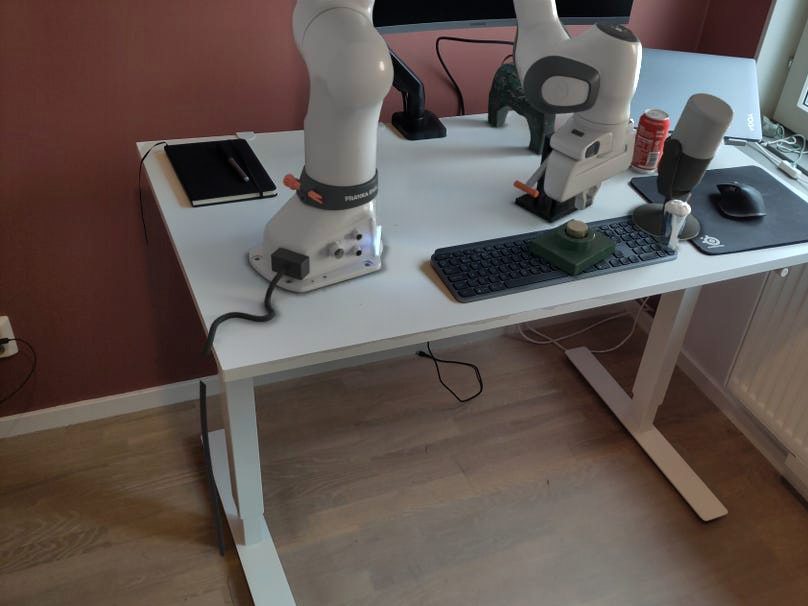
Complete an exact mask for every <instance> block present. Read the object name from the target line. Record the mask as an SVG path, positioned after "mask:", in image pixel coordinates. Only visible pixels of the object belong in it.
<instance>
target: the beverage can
mask: <svg viewBox="0 0 808 606" xmlns="http://www.w3.org/2000/svg"><path fill="white" fill-rule="evenodd" d="M669 117H670V114H669V113H668V112H667V111H664V110H662V109H658V108H648V109H645V110H644V113H642V115H640V117H639V120H638V123H637V126H636V127H637V129H636V131H635V145H634V152H633V158H632V162H631V164H630V166H631V167H632V168H633V170H635V171H636V172H639V173H645V174H650V173H653V172H654V171H657V166H658V162H659V160H660V158H661V156H662V154H663V147H664V141H665V140H666V138H667V137H668V135H669V131H670V127H671V121H670V118H669Z"/></svg>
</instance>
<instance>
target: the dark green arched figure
mask: <svg viewBox="0 0 808 606" xmlns="http://www.w3.org/2000/svg"><path fill="white" fill-rule="evenodd" d="M511 57H512V53H511V54H508V55H507V56H505V57H504V58H503V60H502V62H501V65H500V66H499V67H498V68H497V69H496V71H495V73H494V75H493V79H492V81H491V85H490V89H489V92H488V101H487V102H488V103H487V105H488V106H487V123H488V124H489V125H491V126H492V127H494V128H500V127H504V126H505V123H506V120H507V117H508V114H509V111H510V109H511V110H512V111H513V112H515V113H516V114H518V116H520V117H521V116H522V117H523V118H525V119H526V122H527V124H528V130H529V135H530V136H529V138H530V139H529V144H528V149H529V150H530V151H533V152H535V153H536V154H537V155H542V151H543V145H544V139H545V136H546V135H548V134H551V133H553V132H555V125H556V118H557V114H545V113H542V112H539V111H537V110H536V109H534V108H533V107H532V106H531V105H530V104H529V103H528V101H527V100H526V98H525V95H524V92H523V89H522V85H521V82H520V78H519V75H518V73H517V71H516V69H515V66H514V63H513V61H511V62H506V61H507V60H508V59H510V58H511ZM512 58H513V57H512ZM505 62H506V63H505Z"/></svg>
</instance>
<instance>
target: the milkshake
mask: <svg viewBox="0 0 808 606" xmlns="http://www.w3.org/2000/svg"><path fill="white" fill-rule="evenodd" d="M691 197H692V193H691V192H690V193H689V194H688V195H687V196H686V199H685V201H682V200H681V199H680V200H671V201H669V202H667V203H666V204H665V209H664V215H663V221H662V226H661V231H660V236H659V238H658V242H657V247H658V248H659V249H660V250H661V251H665V252H673V251H676V249H677V246H678V244H679V242H680V241H679V238H680V236H681V233H682V231H683V228H684V226H685V223H686V221H687V219H688V216H689V214H691V212H692V211H691V210H692V209H691V206H690V204H688V202H689V201H690V198H691Z"/></svg>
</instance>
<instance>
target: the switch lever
mask: <svg viewBox="0 0 808 606" xmlns="http://www.w3.org/2000/svg"><path fill="white" fill-rule="evenodd" d="M551 148H552V147H551ZM553 150H554V148H552V151H553ZM549 156H550V155H549ZM549 156H548V157H547V158H546V160H545V161H544V162H543V163H542V164H541V166H540V165H539V167H538V168H537V169H536V170H535V172H533V174H532V175H531V176H530V177H529V178H528V179H527V181H526V182H525V183H524V182H521V181H519V179H516V180H515V181H514V182H513V187H514V188H516V189H518V190H520V191H522V192H524V193H525V194H526V193H528V194H530V195H532V196H533V197H537V196H538V194H539V192H538V191H537V190H535V189H536V188H533V187H534V186H535V185H537V181H538V180H539V179H540V178H541V176H542V175H543V174H544V173H545V172H546V168H547V163H548V159H549Z"/></svg>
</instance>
